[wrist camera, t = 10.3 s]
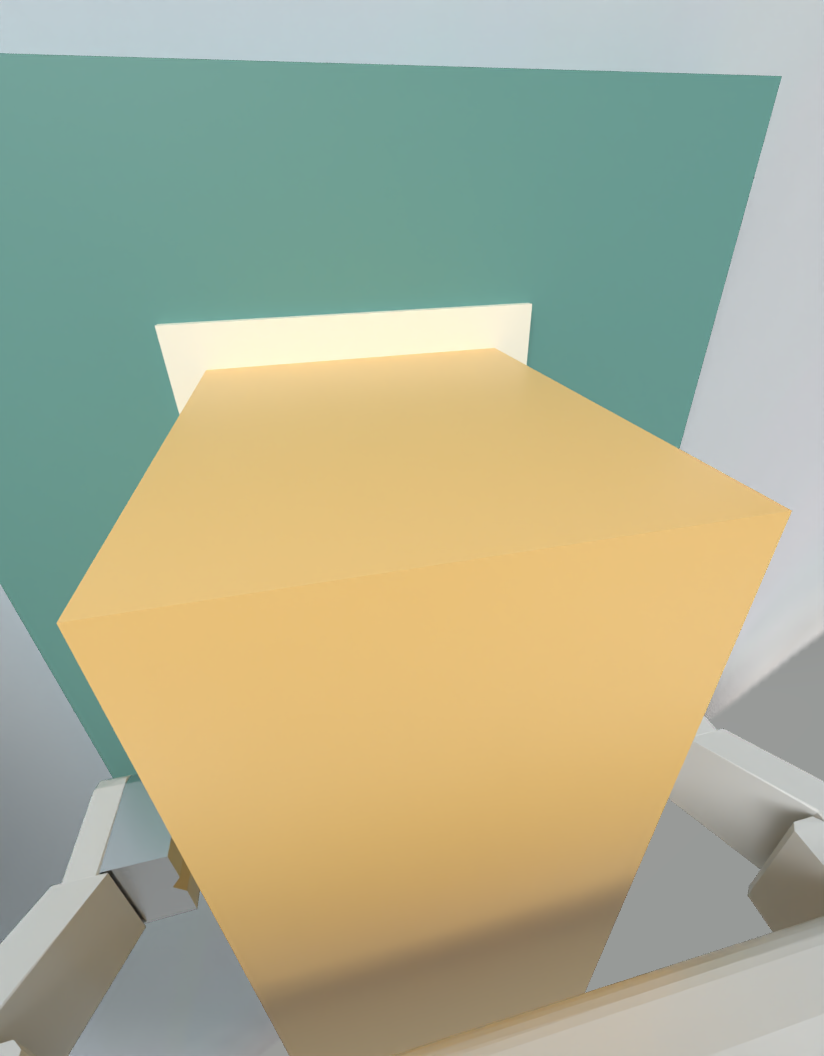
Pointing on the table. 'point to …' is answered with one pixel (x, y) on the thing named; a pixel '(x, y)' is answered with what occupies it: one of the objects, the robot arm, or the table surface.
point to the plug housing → (414, 675)
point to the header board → (331, 256)
